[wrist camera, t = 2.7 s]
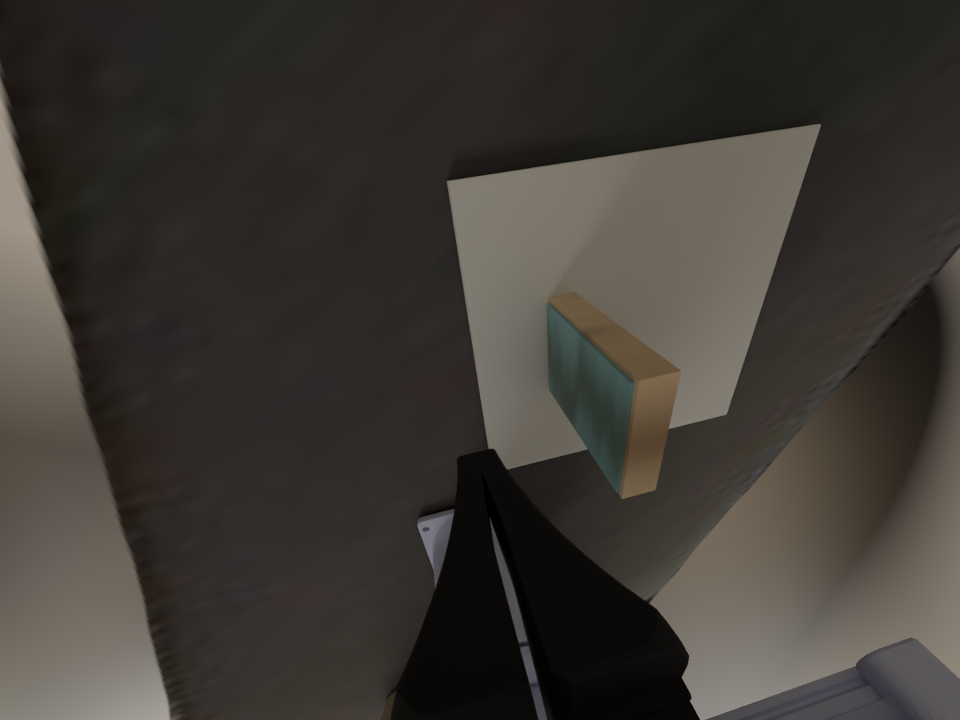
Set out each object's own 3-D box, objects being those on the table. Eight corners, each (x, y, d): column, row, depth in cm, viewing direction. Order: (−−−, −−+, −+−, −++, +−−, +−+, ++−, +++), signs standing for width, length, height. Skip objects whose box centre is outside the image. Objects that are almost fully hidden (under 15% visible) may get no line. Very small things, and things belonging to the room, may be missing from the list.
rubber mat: (721, 410, 26) (726, 414, 26) (491, 467, 24) (492, 472, 24) (810, 125, 17) (821, 124, 16) (446, 181, 15) (448, 181, 14)
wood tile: (573, 384, 21) (655, 490, 14) (547, 390, 21) (618, 499, 14) (575, 292, 18) (681, 370, 11) (545, 298, 18) (634, 382, 11)
